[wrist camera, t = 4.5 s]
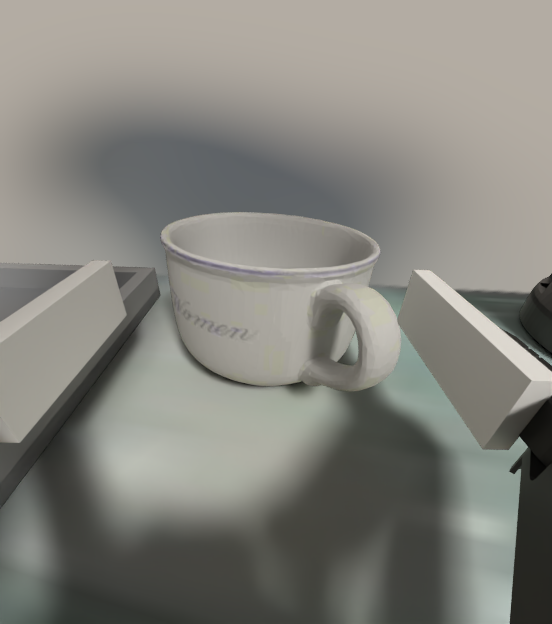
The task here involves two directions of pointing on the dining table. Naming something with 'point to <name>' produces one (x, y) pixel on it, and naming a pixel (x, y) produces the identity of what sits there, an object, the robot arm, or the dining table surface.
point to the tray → (137, 301)
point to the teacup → (279, 299)
